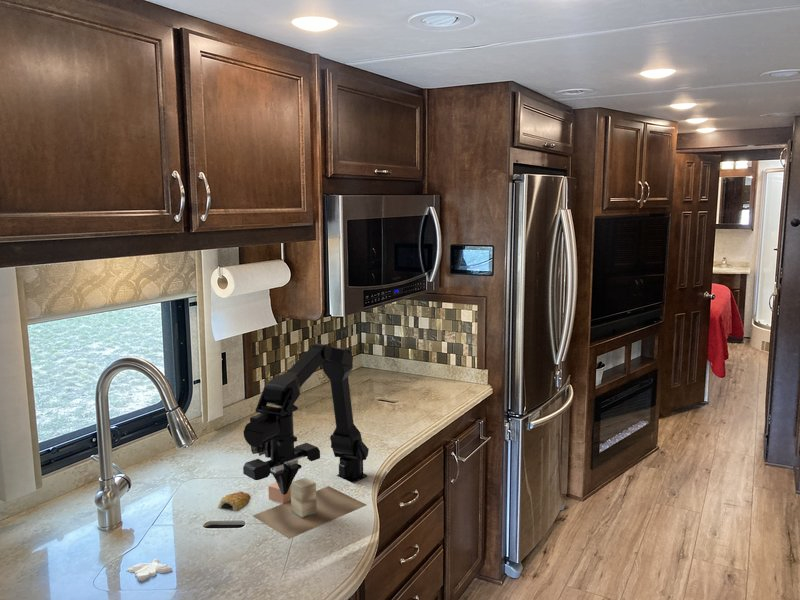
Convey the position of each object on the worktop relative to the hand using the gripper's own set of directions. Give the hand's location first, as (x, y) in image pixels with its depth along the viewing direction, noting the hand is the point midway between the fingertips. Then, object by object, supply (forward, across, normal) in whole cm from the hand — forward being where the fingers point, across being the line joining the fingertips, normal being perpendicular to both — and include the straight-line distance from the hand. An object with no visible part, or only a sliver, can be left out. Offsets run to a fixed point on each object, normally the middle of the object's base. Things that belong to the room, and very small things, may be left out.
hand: (284, 493), depth 157 cm
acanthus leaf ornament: (+9, +32, -4) cm, 34 cm away
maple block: (+7, -6, 0) cm, 9 cm away
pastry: (+8, +4, -18) cm, 20 cm away
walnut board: (+8, -8, 0) cm, 11 cm away
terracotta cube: (+8, -7, -11) cm, 15 cm away
